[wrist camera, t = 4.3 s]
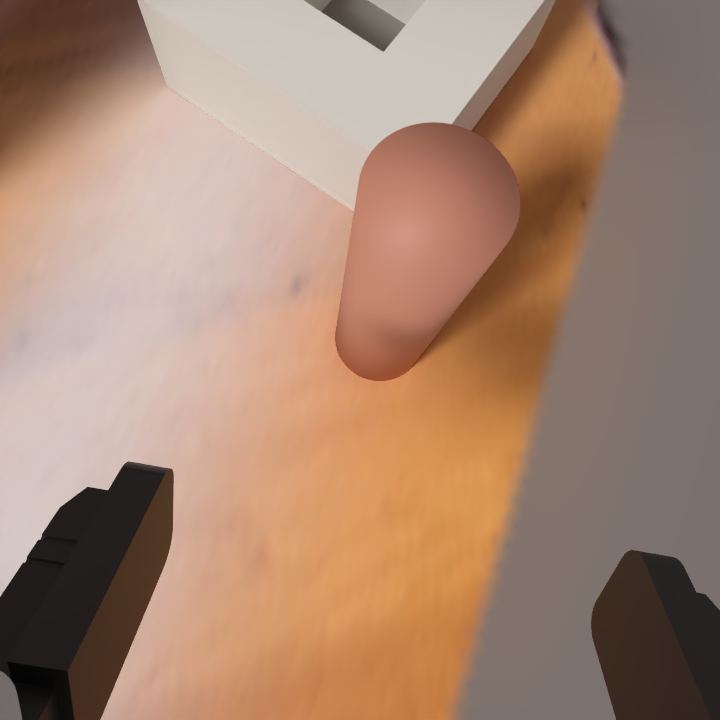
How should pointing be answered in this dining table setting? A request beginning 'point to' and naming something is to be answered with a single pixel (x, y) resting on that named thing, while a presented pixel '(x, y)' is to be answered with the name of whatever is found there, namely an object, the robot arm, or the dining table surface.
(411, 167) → the pin
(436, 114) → the block
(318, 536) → the dining table surface
